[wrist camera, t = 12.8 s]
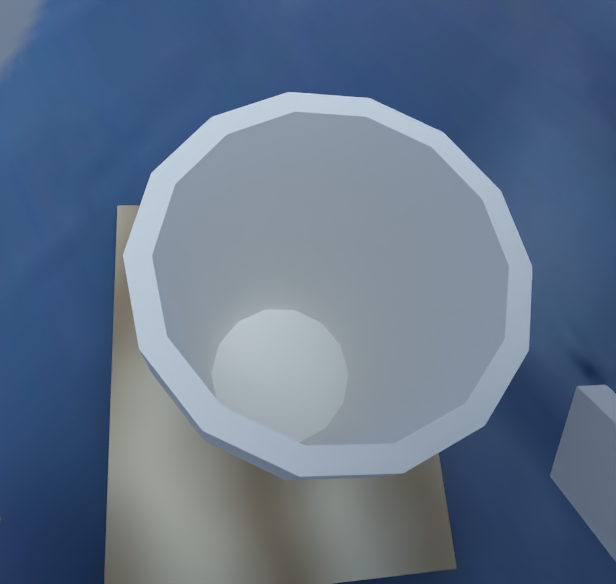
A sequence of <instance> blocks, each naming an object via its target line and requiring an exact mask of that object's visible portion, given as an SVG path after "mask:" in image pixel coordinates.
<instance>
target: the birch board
mask: <svg viewBox="0 0 616 584" xmlns="http://www.w3.org/2000/svg"><path fill="white" fill-rule="evenodd" d="M139 207H140V206H117V233H116V261H115V290H114V319H113V347H112V376H111V404H110V433H109V462H108V490H107V519H106V547H105V576H104V584H333V583H341V582H350V581H358V580H366V579H375V578H383V577H391V576H400V575H408V574H416V573H425V572H433V571H441V570H450V569H457V567H456V560H455V554H454V548H453V541H452V535H451V529H450V522H449V516H448V510H447V503H446V497H445V490H444V484H443V478H442V471H441V465H440V459H439V453H437V454H436V455H434V456H432V457H430V458H429V459H427V460H425V461H424V462H422V463H420V464H418V465H417V466H415V467H413V468H412V469H410V470H408V471H407V472H405V473H403V474H395V475H388V476H380V477H371V478H341V479H311V480H284V479H282V478H280V477H278V476H276V475H274V474H271V473H269V472H267V471H265V470H263V469H261V468H259V467H257V466H255V465H252V464H250V463H248V462H246V461H244V460H242V459H240V458H238V457H235V456H233V455H231V454H229V453H227V452H225V451H223V450H221V449H219V448H216V447H214V446H212V445H210V444H208V443H206V442H204V440H203V439H202V438H201V436H200V435H199V434H198V433H197V431H196V430H195V429H194V427H193V426H192V425H191V423H190V422H189V421H188V420H187V418H186V417H185V416H184V414H183V413H182V412H181V411H180V409H179V408H178V407H177V405H176V404H175V403H174V401H173V400H172V399H171V398H170V396H169V395H168V394H167V392H166V391H165V390H164V389H163V387H162V386H161V385H160V383H159V382H158V381H157V379H156V378H155V377H154V376H153V374H152V373H151V371H150V369H149V367H148V365H147V363H146V361H145V360H144V358H143V356H142V354H141V352H140V350H139V347H138V341H137V335H136V329H135V323H134V317H133V312H132V306H131V300H130V294H129V288H128V282H127V277H126V271H125V265H124V259H123V253H124V250H125V247H126V244H127V241H128V239H129V236H130V233H131V230H132V227H133V224H134V221H135V218H136V216H137V213H138V210H139Z"/></svg>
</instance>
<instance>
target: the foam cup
mask: <svg viewBox="0 0 616 584" xmlns="http://www.w3.org/2000/svg"><path fill="white" fill-rule="evenodd" d="M123 259H124V265H125V271H126V277H127V282H128V288H129V294H130V300H131V306H132V312H133V317H134V323H135V329H136V335H137V341H138V347H139V350H140V352H141V354H142V356H143V358H144V360H145V361H146V363H147V365H148V367H149V369H150V371H151V373H152V374H153V376H154V377H155V378H156V379H157V381H158V382H159V383H160V385H161V386H162V387H163V389H164V390H165V391H166V392H167V394H168V395H169V396H170V398H171V399H172V400H173V401H174V403H175V404H176V405H177V407H178V408H179V409H180V411H181V412H182V413H183V414H184V416H185V417H186V418H187V420H188V421H189V422H190V423H191V425H192V426H193V427H194V429H195V430H196V431H197V433H198V434H199V435H200V436H201V438H202V439H203V440H204V442H206V443H208V444H210V445H212V446H214V447H216V448H219V449H221V450H223V451H225V452H227V453H229V454H231V455H233V456H235V457H238V458H240V459H242V460H244V461H246V462H248V463H250V464H252V465H255V466H257V467H259V468H261V469H263V470H265V471H267V472H269V473H271V474H274V475H276V476H278V477H280V478H282V479H284V480H311V479H341V478H371V477H380V476H388V475H395V474H403V473H405V472H407V471H408V470H410V469H412V468H413V467H415V466H417V465H418V464H420V463H422V462H424V461H425V460H427V459H429V458H430V457H432V456H434V455H436V454H437V453H439V452H441V451H442V450H444V449H446V448H447V447H449V446H451V445H453V444H454V443H456V442H458V441H459V440H461V439H463V438H465V437H466V436H468V435H470V434H471V433H473V432H475V431H476V430H478V429H480V428H482V427H483V426H485V425H486V423H487V421H488V420H489V418H490V416H491V414H492V413H493V411H494V409H495V408H496V406H497V404H498V402H499V401H500V399H501V397H502V396H503V394H504V392H505V390H506V389H507V387H508V385H509V384H510V382H511V380H512V378H513V377H514V375H515V373H516V372H517V370H518V368H519V366H520V365H521V363H522V361H523V360H524V358H525V356H526V354H527V353H528V351H529V338H530V313H531V289H532V265H531V262H530V260H529V257H528V255H527V253H526V250H525V248H524V245H523V243H522V241H521V238H520V236H519V233H518V231H517V228H516V226H515V224H514V221H513V219H512V216H511V214H510V212H509V209H508V207H507V204H506V202H505V199H504V197H503V195H502V192H501V190H500V189H499V188H498V187H497V186H496V185H495V184H494V183H493V182H492V181H491V180H490V179H489V178H488V177H487V176H486V175H485V174H484V173H483V172H482V171H481V170H480V169H479V168H478V167H477V166H476V165H475V164H474V163H473V162H472V161H471V160H470V159H469V158H468V157H467V156H466V155H465V154H464V153H463V152H462V151H461V150H460V149H459V148H458V147H457V146H456V145H455V144H454V143H453V142H452V141H451V140H450V139H449V138H448V137H447V136H446V134H445V133H443V132H441V131H439V130H437V129H435V128H433V127H431V126H428V125H426V124H424V123H422V122H420V121H418V120H416V119H413V118H411V117H409V116H407V115H405V114H403V113H401V112H398V111H396V110H394V109H392V108H390V107H388V106H385V105H383V104H381V103H379V102H377V101H375V100H373V99H370V98H361V97H348V96H335V95H322V94H309V93H296V92H287V93H284V94H281V95H278V96H275V97H272V98H269V99H265V100H262V101H259V102H256V103H253V104H250V105H247V106H244V107H241V108H238V109H234V110H231V111H228V112H225V113H222V114H219V115H216V116H213V117H211V118H210V119H209V120H208V121H207V122H206V123H204V124H203V125H202V126H201V127H200V128H199V129H198V130H197V131H196V132H195V133H194V134H193V135H192V136H191V137H189V138H188V139H187V140H186V141H185V142H184V143H183V144H182V145H181V146H180V147H179V148H178V149H177V150H175V151H174V152H173V153H172V154H171V155H170V156H169V157H168V158H167V159H166V160H165V161H164V162H163V163H162V164H160V165H159V166H158V167H157V168H156V169H155V170H154V171H153V172H152V173H151V175H150V178H149V181H148V184H147V187H146V190H145V193H144V195H143V198H142V201H141V204H140V207H139V210H138V213H137V216H136V218H135V221H134V224H133V227H132V230H131V233H130V236H129V239H128V241H127V244H126V247H125V250H124V253H123Z"/></svg>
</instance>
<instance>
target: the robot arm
mask: <svg viewBox="0 0 616 584" xmlns="http://www.w3.org/2000/svg"><path fill="white" fill-rule="evenodd" d="M550 477H551V478H552V479H553V481H554V482H555V483H556V485H557V486H558V487H559V489H560V490H561V491H562V492H563V494H564V495H565V496H566V498H567V499H568V500H569V502H570V503H571V504H572V505H573V507H574V508H575V509H576V511H577V512H578V513H579V515H580V516H581V517H582V518H583V520H584V521H585V522H586V524H587V525H588V526H589V528H590V529H591V530H592V531H593V533H594V534H595V535H596V537H597V538H598V539H599V541H600V542H601V543H602V544H603V546H604V547H605V548H606V550H607V551H608V552H609V554H610V555H611V556H612V557H613V559H614V560H615V561H616V393H615V392H613V391H612V390H611V389H610V388H609V387H608V386H607V385H590V386H577V387H576V391H575V394H574V397H573V401H572V404H571V407H570V411H569V414H568V417H567V421H566V424H565V427H564V430H563V434H562V437H561V440H560V444H559V447H558V450H557V454H556V457H555V460H554V464H553V467H552V470H551V474H550ZM0 521H1V518H0Z"/></svg>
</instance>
